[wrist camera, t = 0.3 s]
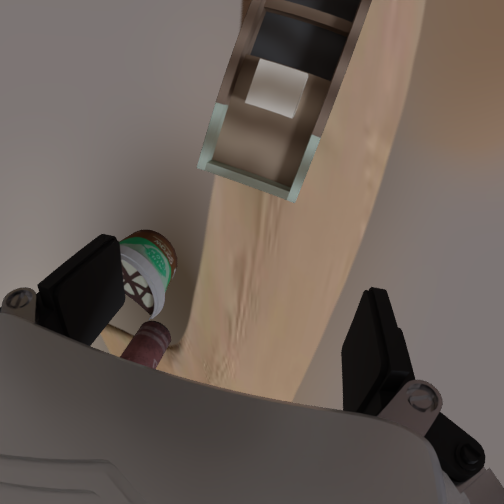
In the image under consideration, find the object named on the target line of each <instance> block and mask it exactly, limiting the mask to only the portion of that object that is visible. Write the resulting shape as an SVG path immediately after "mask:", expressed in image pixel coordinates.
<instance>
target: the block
mask: <svg viewBox="0 0 504 504" xmlns="http://www.w3.org/2000/svg"><path fill="white" fill-rule="evenodd" d="M307 80H308V74H307V73H304V72H301V71H298V70H296V69H293V68H289V67H286V66H283V65H280V64H277V63H274V62H270V61H267V60H263V59H260V60H259V63H258V66H257V69H256V72H255V74H254V77H253V80H252V83H251V86H250V89H249V92H248V95H247V98H246V101H245V103H247V104H251V105H254V106H257V107H260V108H263V109H266V110H269V111H272V112H275V113H278V114H281V115H284V116H286V117H289V118H293V117H294V115H295V112H296V110H297V107H298V104H299V102H300V99H301V96H302V93H303V91H304V88H305V85H306V83H307Z"/></svg>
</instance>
